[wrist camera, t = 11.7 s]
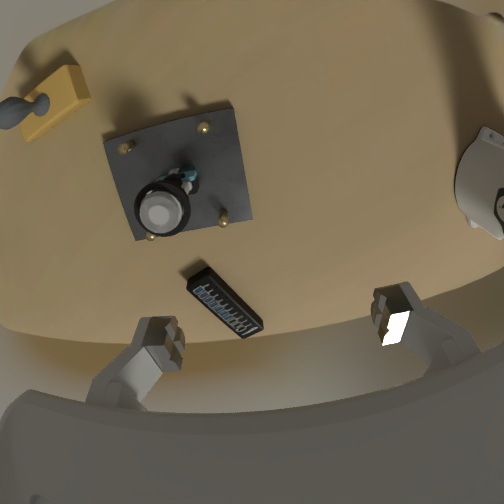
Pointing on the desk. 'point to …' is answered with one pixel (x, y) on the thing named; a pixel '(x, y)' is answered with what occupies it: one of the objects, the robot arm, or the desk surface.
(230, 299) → the multiport hub
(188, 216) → the push button
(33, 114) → the rubber stamp
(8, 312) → the desk surface
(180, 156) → the chassis
